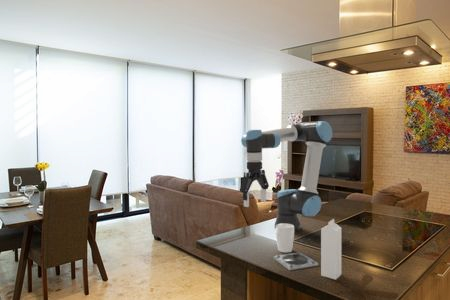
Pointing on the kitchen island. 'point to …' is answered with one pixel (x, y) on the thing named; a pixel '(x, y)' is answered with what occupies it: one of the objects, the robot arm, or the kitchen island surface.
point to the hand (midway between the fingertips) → (255, 204)
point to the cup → (285, 237)
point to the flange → (295, 260)
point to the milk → (331, 250)
